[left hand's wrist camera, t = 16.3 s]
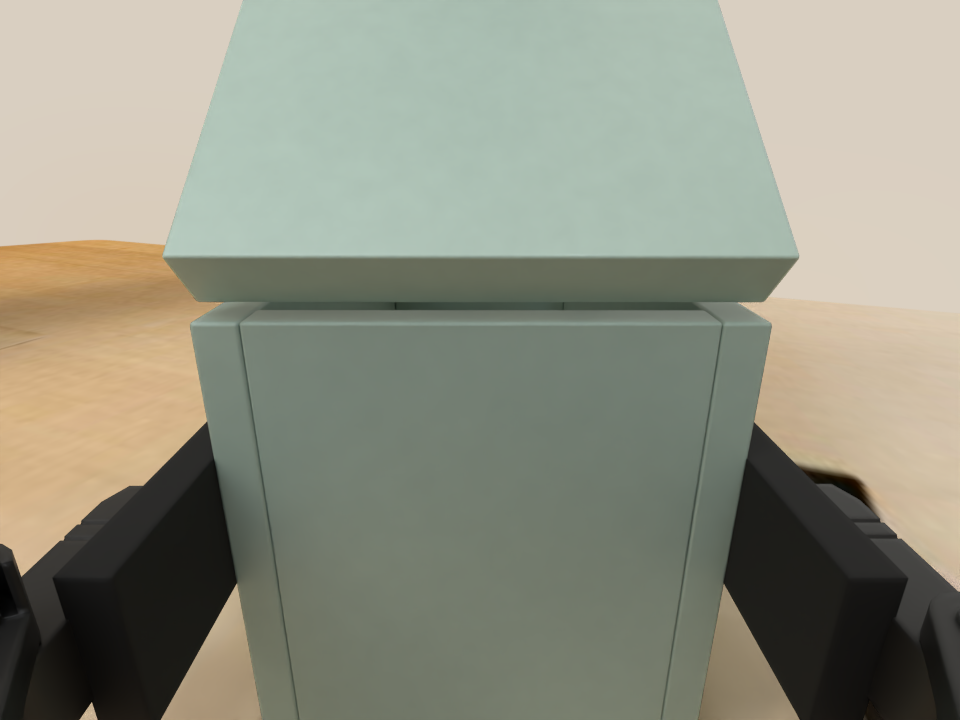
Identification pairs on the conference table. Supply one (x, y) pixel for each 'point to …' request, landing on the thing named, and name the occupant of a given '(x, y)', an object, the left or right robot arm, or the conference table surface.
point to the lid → (480, 157)
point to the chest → (480, 501)
